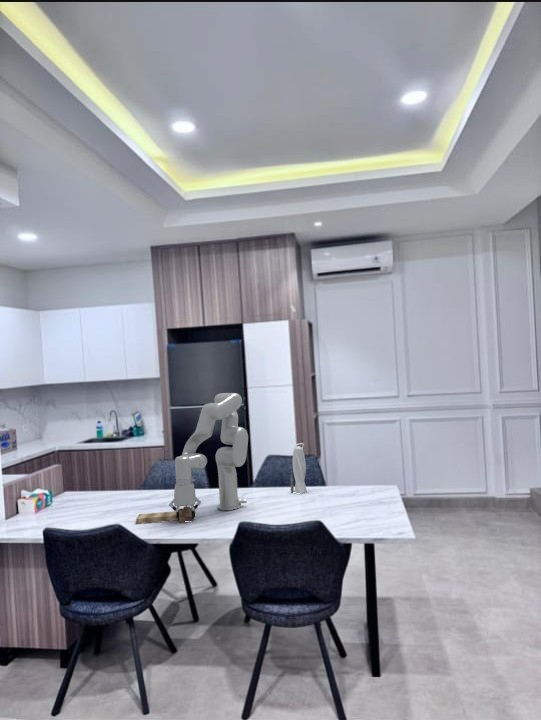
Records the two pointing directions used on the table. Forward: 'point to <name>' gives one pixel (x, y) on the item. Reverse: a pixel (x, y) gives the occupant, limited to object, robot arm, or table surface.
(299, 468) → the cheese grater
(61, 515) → the table surface
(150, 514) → the board
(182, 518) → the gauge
